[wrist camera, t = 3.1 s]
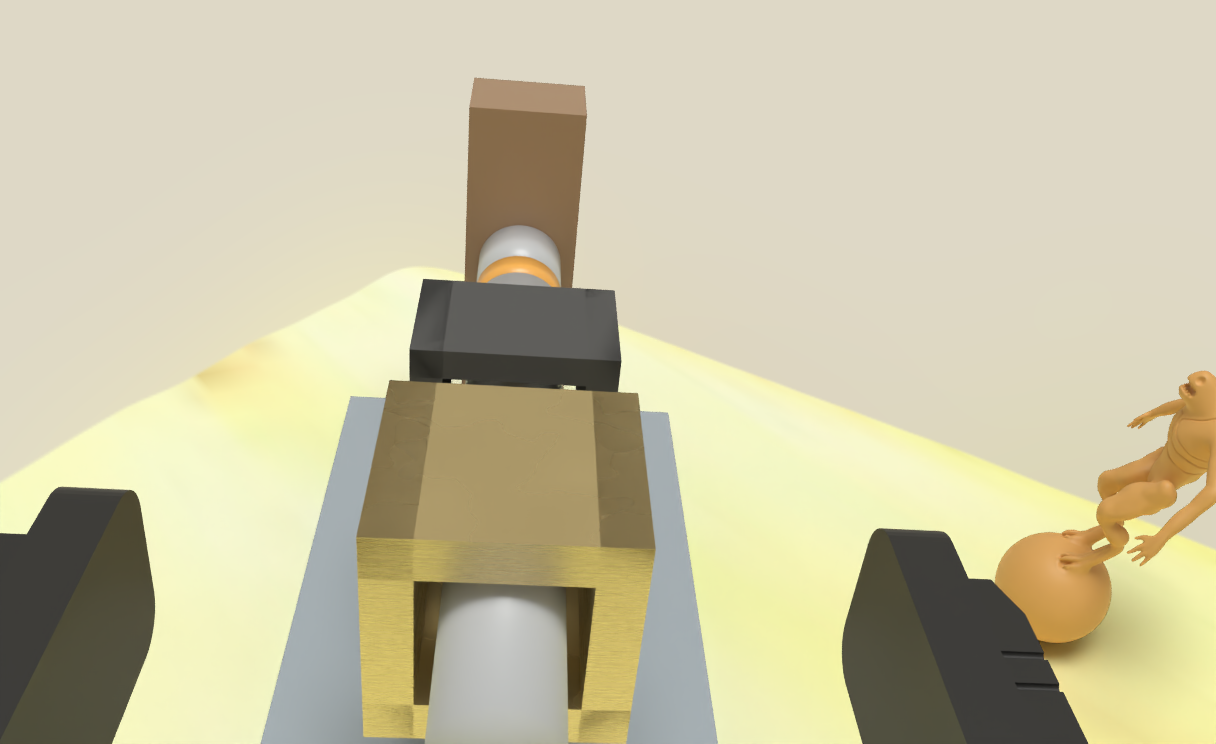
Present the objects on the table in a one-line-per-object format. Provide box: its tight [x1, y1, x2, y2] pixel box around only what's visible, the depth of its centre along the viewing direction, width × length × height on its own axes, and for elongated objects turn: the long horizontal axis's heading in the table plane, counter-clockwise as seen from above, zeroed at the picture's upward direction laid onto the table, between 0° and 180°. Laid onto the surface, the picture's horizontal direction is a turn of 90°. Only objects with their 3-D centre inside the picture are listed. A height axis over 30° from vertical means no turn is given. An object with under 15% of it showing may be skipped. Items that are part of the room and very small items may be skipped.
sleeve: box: [356, 380, 656, 744], centre depth 29 cm, size 6×6×6 cm
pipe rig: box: [261, 78, 718, 744], centre depth 36 cm, size 14×26×16 cm, turn 2°
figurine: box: [995, 371, 1216, 643], centre depth 39 cm, size 8×6×12 cm
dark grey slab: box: [410, 279, 621, 392], centre depth 34 cm, size 6×4×6 cm
